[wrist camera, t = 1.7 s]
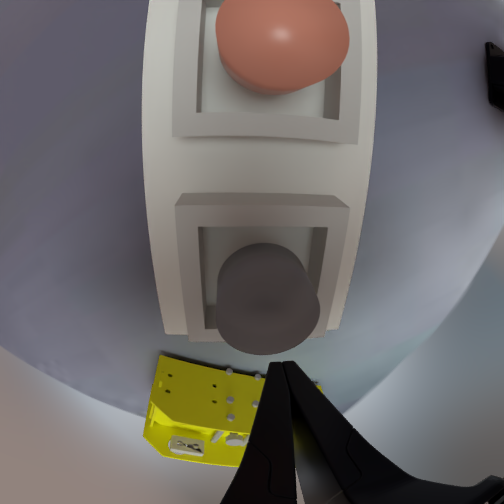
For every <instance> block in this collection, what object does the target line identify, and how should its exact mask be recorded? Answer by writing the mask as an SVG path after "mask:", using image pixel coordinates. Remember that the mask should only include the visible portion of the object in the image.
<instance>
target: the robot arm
mask: <svg viewBox="0 0 504 504" xmlns="http://www.w3.org/2000/svg"><path fill="white" fill-rule="evenodd" d="M486 48H487V58H488V72H489V101H490V103H491V105H493V106H494V107H496V108H498V109H499V110H501V111H503V112H504V52H503V51H502V50H501V49H500V48H498V47H497V46H496V45H494V44H493V43H492V42H487V43H486ZM295 467H296V471H297V475H298V478H299V482H300V486H301V490H302V494H303V498H304V502H305V504H504V478H501V477H497V476H493V475H490V476H488V477H487V478H485V479H483V480H482V481H480V482H479V483H477V484H476V485H474V486H471V487H460V486H454V485H447V484H441V483H436V482H431V481H426V480H421V479H418V478H415V477H413V476H411V475H409V474H408V473H406V472H404V471H403V470H402V469H401V468H399V467H398V466H397V465H395V464H394V463H393V462H391V461H390V460H389V459H388V458H386V457H385V456H384V455H382V454H381V453H380V452H379V451H378V450H376V449H375V448H374V447H373V446H372V445H370V444H369V443H368V442H367V441H366V440H365V439H364V438H363V437H362V436H361V435H360V434H359V432H358V431H357V430H356V429H355V428H353V426H352V425H351V424H350V423H349V422H348V421H347V420H346V419H345V417H344V416H343V415H342V414H341V413H340V412H339V411H338V410H337V409H336V408H335V406H334V405H333V404H332V403H331V402H330V401H329V400H328V399H327V398H326V397H325V395H324V394H323V393H322V392H321V391H320V390H319V389H318V388H317V386H316V385H315V384H314V383H313V382H312V381H311V380H310V379H309V377H308V376H307V375H306V374H305V373H304V372H303V371H302V369H301V368H300V367H299V366H298V365H297V364H296V362H294V361H283V362H282V363H281V362H270V363H269V367H268V371H267V374H266V378H265V382H264V386H263V389H262V393H261V397H260V400H259V404H258V408H257V411H256V415H255V418H254V422H253V425H252V429H251V432H250V436H249V439H248V443H247V445H246V449H245V452H244V455H243V458H242V460H241V463H240V466H239V468H238V470H237V472H236V474H235V476H234V479H233V480H232V482H231V484H230V486H229V488H228V490H227V492H226V494H225V496H224V497H223V499H222V501H221V503H220V504H297V500H296V499H297V493H296V474H295Z"/></svg>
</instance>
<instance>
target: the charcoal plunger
mask: <svg viewBox="0 0 504 504" xmlns="http://www.w3.org/2000/svg"><path fill="white" fill-rule="evenodd" d="M319 317H320V303H319V300H318V297H317V295H316V293H315V290H314V288H313V286H312V284H311V282H310V280H309V278H308V276H307V273H306V271H305V269H304V267H303V265H302V263H301V261H300V260H299V258H298V257H297V256H296V255H295V254H294V253H293V252H292V251H290V250H289V249H287V248H285V247H283V246H280V245H277V244H273V243H256V244H251V245H248V246H245V247H243V248H240V249H239V250H237V251H235V252H234V253H233V254H231V255H230V256H229V257H228V258H227V259H226V260H225V262H224V263H223V265H222V267H221V268H220V271H219V274H218V279H217V298H216V326H217V329H218V331H219V333H220V335H221V337H222V338H223V339H224V340H225V341H226V342H227V343H228V344H229V345H230V346H232V347H234V348H235V349H237V350H239V351H242V352H245V353H249V354H254V355H271V354H277V353H281V352H284V351H287V350H289V349H291V348H293V347H295V346H297V345H299V344H300V343H302V342H303V341H304V340H305V339H306V338H307V337H308V336H309V335H310V334H311V333H312V332H313V330H314V329H315V327H316V325H317V323H318V320H319Z"/></svg>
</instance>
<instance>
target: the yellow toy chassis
mask: <svg viewBox="0 0 504 504" xmlns="http://www.w3.org/2000/svg"><path fill="white" fill-rule="evenodd" d="M232 372H233V370H232V369H230V368H228V369H227V370H226V371H222V370H218V369H213V368H209V367H205V366H200V365H196V364H192V363H188V362H184V361H180V360H177V359H173V358H169V357H166V356H162V355H160V356H159V360H158V365H157V370H156V374H155V379H154V384H152V389H151V394H150V399H149V405H148V410H147V416H146V422H145V427H144V433H143V437H144V438H145V439H146V440H147V441H148V442H149V443H150V444H151V445H152V446H153V447H154V448H155V449H156V450H157V451H158V452H159V453H160V454H161V455H162V456H164V457H169V458H174V459H180V460H185V461H191V462H198V463H204V464H212V465H221V466H231V467H239V466H240V463H241V460H242V458H243V455H244V452H245V449H246V445H247V443H248V439H249V436H250V432H251V429H252V425H253V422H254V418H255V415H256V411H257V408H258V404H259V400H260V397H261V393H262V389H263V386H264V382H265V378H261V375H260V374H256V375H255V377H253V376H248V375H242V374H237V373H232ZM212 385H215V386H216V388H215V387H213V386H212ZM316 386H317V385H316ZM317 388H318V389H319V390H320V391H321V392H322V388H321V386H317ZM322 393H323V392H322ZM170 440H171V443H170V449H169V447H168V442H169V441H170ZM177 443H179V444H177ZM185 444H187V445H188V446H187V447H186V445H185ZM172 451H173V452H178V453H184V454H183V455H177V454H174V453H173V452H172ZM295 468H296V467H295Z"/></svg>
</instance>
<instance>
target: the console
mask: <svg viewBox="0 0 504 504" xmlns="http://www.w3.org/2000/svg"><path fill="white" fill-rule="evenodd" d="M332 1H333V2H334V3H335V4H336V5H337V6H338V8H339V9H340V10H341V12H342V14H343V15H344V17H345V20H346V22H347V25H348V29H349V36H350V41H349V49H348V53H347V55H346V58H345V60H344V61H343V63H342V65H341V66H340V67H339V68H338V69H337V70H336V71H335V72H334V73H333V74H332V75H331V76H329V77H327V78H326V79H324V80H322V81H320V82H318V83H315V84H313V85H310V86H308V87H305V88H303V89H301V90H298V91H295V92H293V93H289V94H284V95H266V94H261V93H257V92H254V91H251V90H249V89H247V88H245V87H243V86H241V85H240V84H238V83H237V82H236V81H235V80H233V79H232V78H231V77H230V75H229V74H228V73H227V72H226V70H225V69H224V67H223V65H222V63H221V60H220V57H219V52H218V45H217V38H216V31H215V23H216V17H217V13H218V10H219V8H220V6H221V5H222V3H223V2H224V0H150V1H149V9H148V17H147V25H146V35H145V47H144V61H143V82H142V149H143V170H144V186H145V199H146V210H147V220H148V229H149V238H150V246H151V254H152V261H153V268H154V274H155V281H156V287H157V293H158V298H159V304H160V309H161V315H162V320H163V325H164V330H165V334H175V335H188V339H189V342H226V341H225V340H224V339H223V338H222V337H221V335H220V333H219V331H218V329H217V326H216V298H217V279H218V274H219V271H220V268H221V267H222V265H223V263H224V262H225V260H226V259H227V258H228V257H229V256H230V255H231V254H233V253H234V252H235V251H237V250H239V249H240V248H243V247H245V246H248V245H251V244H256V243H273V244H277V245H280V246H283V247H285V248H287V249H289V250H290V251H292V252H293V253H294V254H295V255H296V256H297V257H298V258H299V260H300V261H301V263H302V265H303V267H304V269H305V271H306V273H307V276H308V278H309V280H310V282H311V284H312V286H313V288H314V290H315V293H316V295H317V297H318V300H319V303H320V317H319V320H318V323H317V325H316V327H315V329H314V330H313V332H312V333H311V334H310V335H309V336H308V337H307V338H318V337H324V336H325V332H326V330H334V329H338V328H339V324H340V321H341V317H342V313H343V310H344V306H345V302H346V298H347V294H348V290H349V286H350V281H351V277H352V273H353V268H354V264H355V259H356V254H357V249H358V244H359V239H360V234H361V228H362V223H363V217H364V211H365V205H366V198H367V191H368V184H369V177H370V168H371V160H372V150H373V140H374V128H375V114H376V94H377V32H376V13H375V1H374V0H332Z"/></svg>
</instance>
